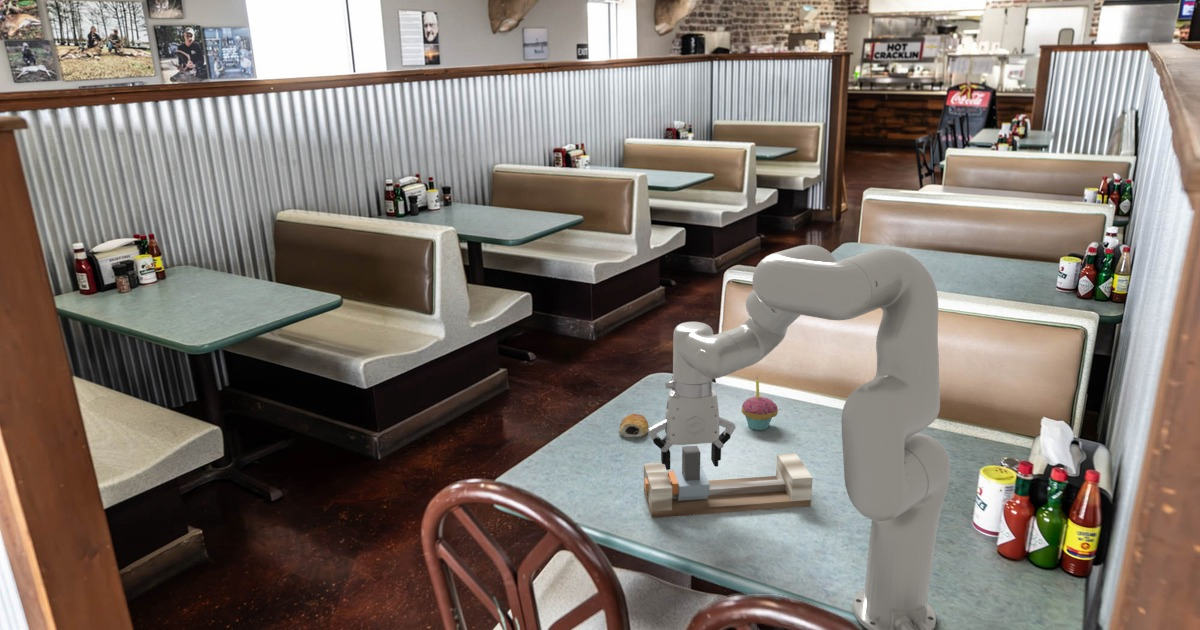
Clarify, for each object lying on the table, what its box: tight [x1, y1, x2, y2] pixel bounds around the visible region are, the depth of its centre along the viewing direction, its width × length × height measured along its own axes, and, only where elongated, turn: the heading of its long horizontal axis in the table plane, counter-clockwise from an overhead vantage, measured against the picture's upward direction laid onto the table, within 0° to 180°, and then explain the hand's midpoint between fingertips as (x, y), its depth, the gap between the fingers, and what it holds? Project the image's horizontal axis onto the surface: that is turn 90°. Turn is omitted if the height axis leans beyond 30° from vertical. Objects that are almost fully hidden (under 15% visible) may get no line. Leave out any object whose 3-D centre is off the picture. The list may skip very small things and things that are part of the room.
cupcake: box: [741, 377, 779, 431], centre depth 195 cm, size 9×8×12 cm
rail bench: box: [643, 452, 814, 519], centre depth 165 cm, size 10×32×6 cm, turn 96°
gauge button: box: [645, 470, 678, 495], centre depth 164 cm, size 5×6×2 cm
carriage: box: [672, 445, 710, 501], centre depth 163 cm, size 7×6×10 cm
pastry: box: [618, 413, 649, 438], centre depth 196 cm, size 9×7×4 cm
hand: (690, 464), depth 163 cm, fingers open, 9 cm apart
